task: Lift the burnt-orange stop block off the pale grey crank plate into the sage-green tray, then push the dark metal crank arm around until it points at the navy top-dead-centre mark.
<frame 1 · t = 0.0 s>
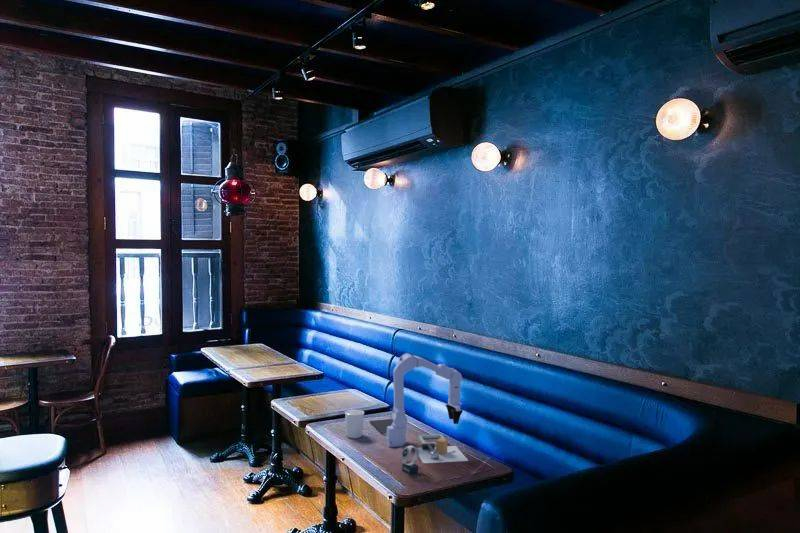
hand: (453, 421, 273), 10 cm above the table, tool pointing down, fingers open, 7 cm apart
stop block: (441, 452, 254), point 1 cm above the table, touching crank plate
watch: (409, 472, 234), on the table
parts tray: (432, 443, 269), on the table
crank: (431, 449, 252), point 3 cm above the table, hinge at 0.0°
crank plate: (434, 460, 247), on the table
candle holder: (354, 435, 278), on the table
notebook: (387, 429, 292), on the table
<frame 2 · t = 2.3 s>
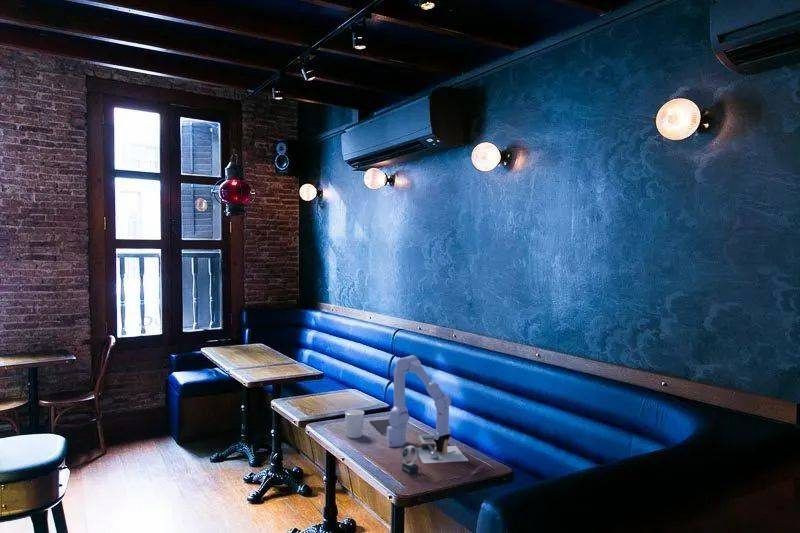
hand: (441, 450, 254), 2 cm above the table, tool pointing down, fingers closed on stop block, 4 cm apart
stop block: (441, 452, 254), point 1 cm above the table, touching crank plate, gripper
everything else where it was.
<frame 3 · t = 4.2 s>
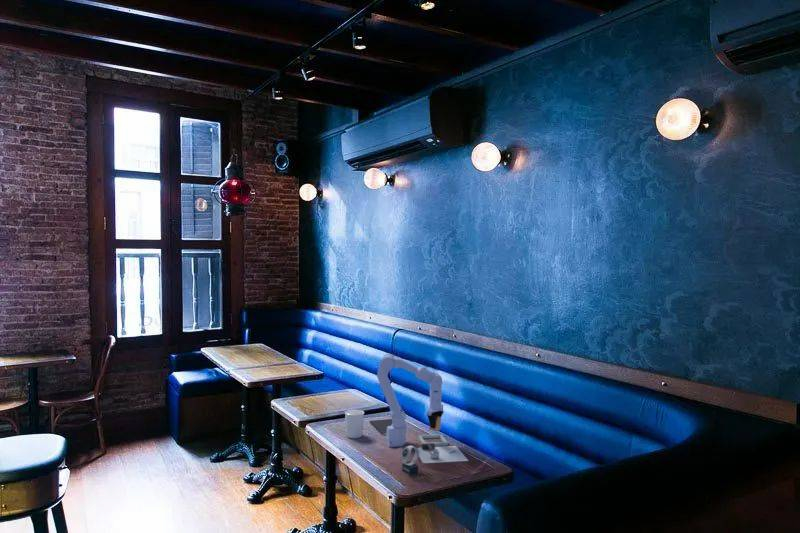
hand: (434, 426, 266), 9 cm above the table, tool pointing down, fingers closed on stop block, 4 cm apart
stop block: (435, 429, 266), point 8 cm above the table, touching gripper
everything else where it was.
when the fingers open (3 cm above the table, at t = 6.0 s): stop block drops 1 cm, resting on parts tray.
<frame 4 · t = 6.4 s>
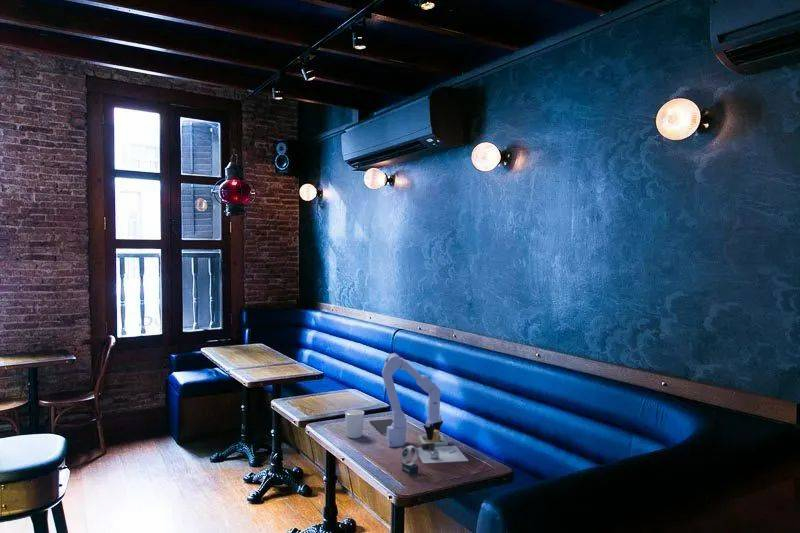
hand: (433, 437, 269), 3 cm above the table, tool pointing down, fingers open, 7 cm apart
stop block: (433, 442, 269), resting on parts tray
everything else where it was.
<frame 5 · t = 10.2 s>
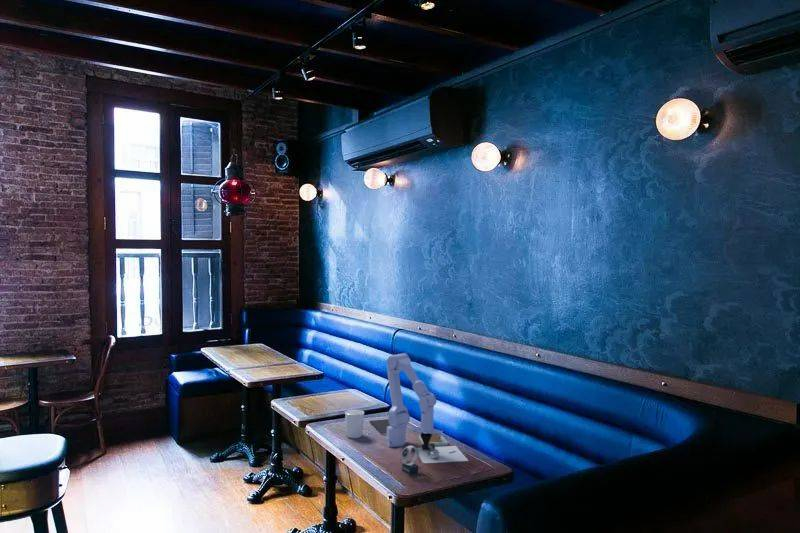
hand: (426, 449, 255), 2 cm above the table, tool pointing down, fingers closed, pressing on crank
crank: (431, 449, 252), point 3 cm above the table, hinge at -0.1°, touching gripper
everything else where it was.
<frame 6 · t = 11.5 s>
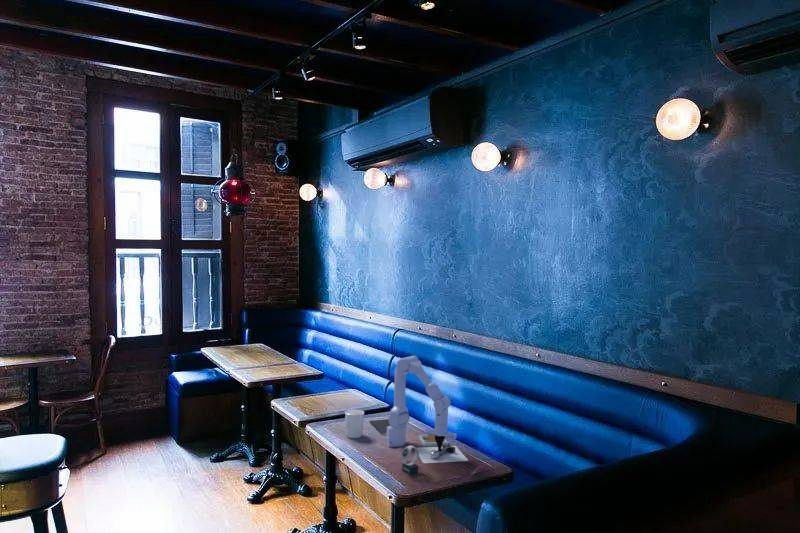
hand: (439, 451, 253), 2 cm above the table, tool pointing down, fingers closed, pressing on crank
crank: (441, 451, 251), point 3 cm above the table, hinge at -51.2°, touching gripper
everything else where it was.
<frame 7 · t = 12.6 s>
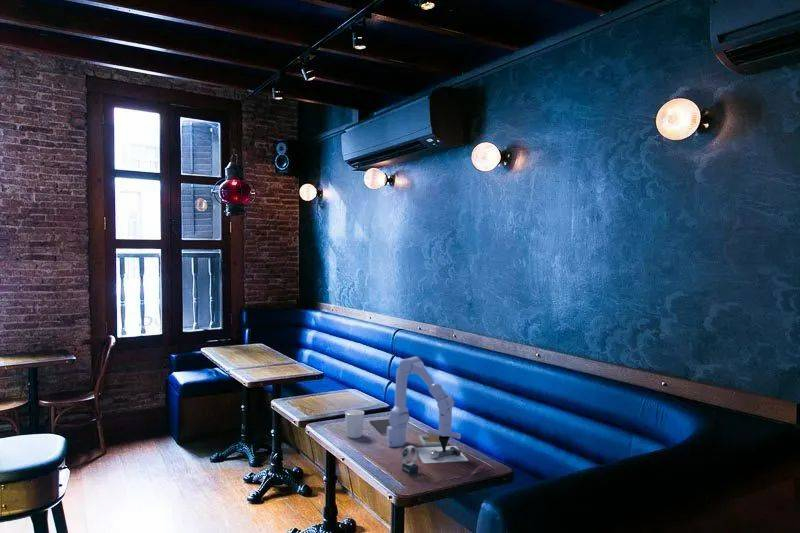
hand: (444, 451, 252), 2 cm above the table, tool pointing down, fingers closed, pressing on crank
crank: (444, 452, 250), point 3 cm above the table, hinge at -72.6°, touching gripper
everything else where it was.
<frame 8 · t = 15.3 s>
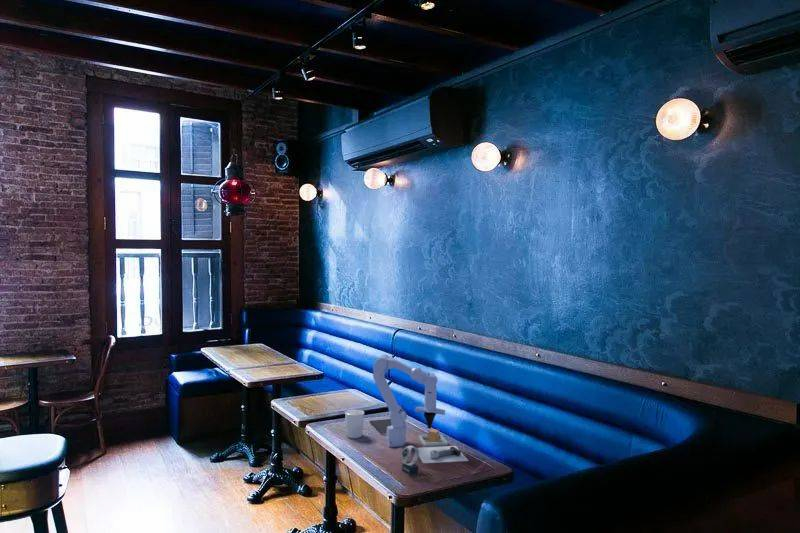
hand: (429, 427, 264), 9 cm above the table, tool pointing down, fingers closed
crank: (444, 452, 250), point 3 cm above the table, hinge at -72.7°
everything else where it was.
at the end: stop block inside the target area on the parts tray (0.2 cm from its centre), point 0.5 cm above the parts tray's base; stop block tilted 0°; crank at -73° (first picture: +0°) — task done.
